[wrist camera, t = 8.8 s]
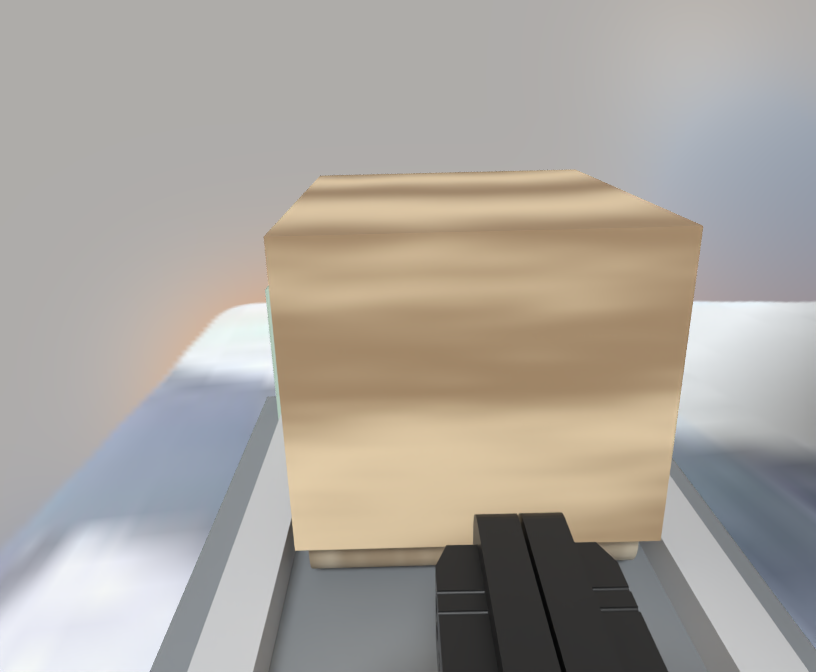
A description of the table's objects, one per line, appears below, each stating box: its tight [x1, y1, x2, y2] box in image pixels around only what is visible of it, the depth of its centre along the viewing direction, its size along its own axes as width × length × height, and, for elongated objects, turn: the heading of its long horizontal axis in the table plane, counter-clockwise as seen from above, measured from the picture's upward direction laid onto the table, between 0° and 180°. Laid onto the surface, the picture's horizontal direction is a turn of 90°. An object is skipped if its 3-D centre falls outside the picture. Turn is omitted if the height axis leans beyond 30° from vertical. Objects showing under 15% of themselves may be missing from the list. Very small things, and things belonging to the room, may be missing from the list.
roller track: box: [150, 285, 816, 672], centre depth 19 cm, size 30×18×8 cm, turn 1°
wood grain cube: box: [264, 170, 703, 569], centre depth 23 cm, size 12×10×11 cm
